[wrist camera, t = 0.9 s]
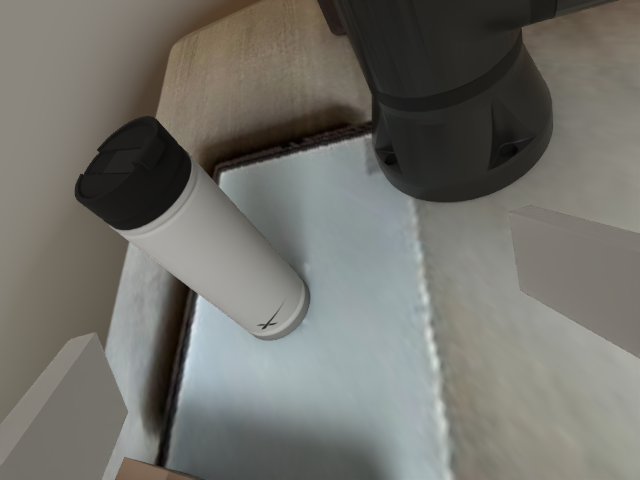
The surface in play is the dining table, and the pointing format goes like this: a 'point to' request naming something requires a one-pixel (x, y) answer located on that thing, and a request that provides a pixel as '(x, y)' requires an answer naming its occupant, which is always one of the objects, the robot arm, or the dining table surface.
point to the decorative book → (332, 16)
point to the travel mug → (191, 228)
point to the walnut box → (148, 472)
